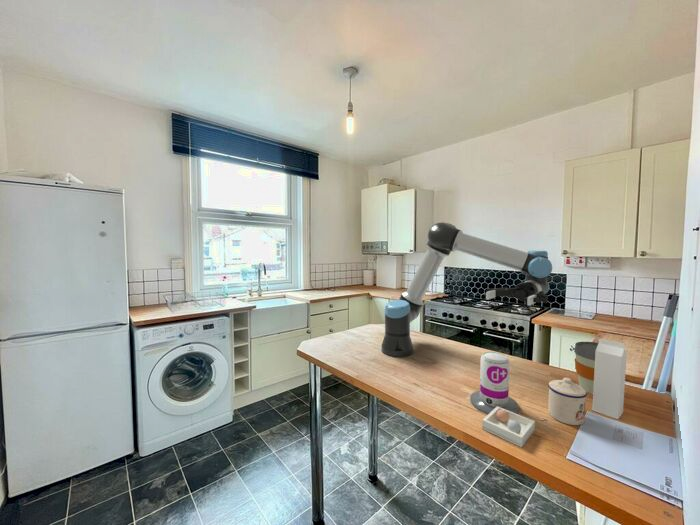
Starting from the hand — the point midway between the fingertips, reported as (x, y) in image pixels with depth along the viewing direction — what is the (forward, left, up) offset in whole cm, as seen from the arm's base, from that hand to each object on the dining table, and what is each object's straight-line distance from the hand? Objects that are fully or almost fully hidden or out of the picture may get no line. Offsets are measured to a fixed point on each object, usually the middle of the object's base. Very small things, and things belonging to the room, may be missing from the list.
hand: (506, 298), depth 102 cm
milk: (+27, +7, -32) cm, 43 cm away
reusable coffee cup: (+22, +21, -32) cm, 44 cm away
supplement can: (+2, -14, -31) cm, 34 cm away
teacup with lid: (+19, -4, -32) cm, 38 cm away
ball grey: (+12, -25, -30) cm, 41 cm away
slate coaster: (+2, -14, -32) cm, 35 cm away
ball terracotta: (+8, -22, -30) cm, 38 cm away
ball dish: (+10, -24, -32) cm, 41 cm away
